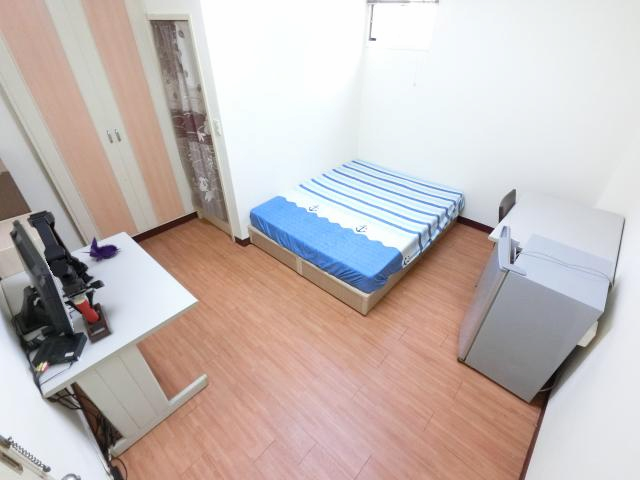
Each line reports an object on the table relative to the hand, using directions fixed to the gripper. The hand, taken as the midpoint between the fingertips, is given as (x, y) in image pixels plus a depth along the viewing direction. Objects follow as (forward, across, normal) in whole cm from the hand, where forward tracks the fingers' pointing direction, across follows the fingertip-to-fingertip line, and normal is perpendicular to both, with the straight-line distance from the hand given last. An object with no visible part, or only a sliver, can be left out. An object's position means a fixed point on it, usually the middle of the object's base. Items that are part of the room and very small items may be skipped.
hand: (87, 311), depth 121 cm
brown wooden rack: (+6, 0, +8) cm, 10 cm away
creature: (-28, +13, +42) cm, 52 cm away
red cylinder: (+4, 0, +6) cm, 7 cm away
